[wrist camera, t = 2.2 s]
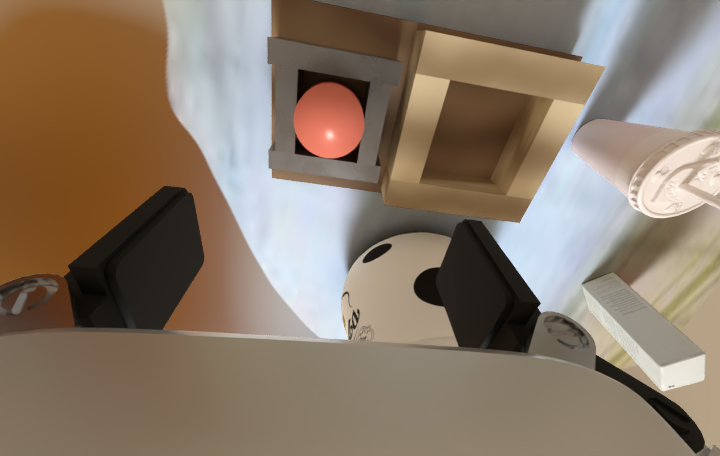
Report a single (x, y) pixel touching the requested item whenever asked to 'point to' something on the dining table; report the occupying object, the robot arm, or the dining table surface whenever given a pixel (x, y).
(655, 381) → the skincare box
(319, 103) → the button
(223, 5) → the dining table surface
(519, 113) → the wooden tray with button
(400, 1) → the dining table surface
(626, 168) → the smoothie
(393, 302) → the milk container
